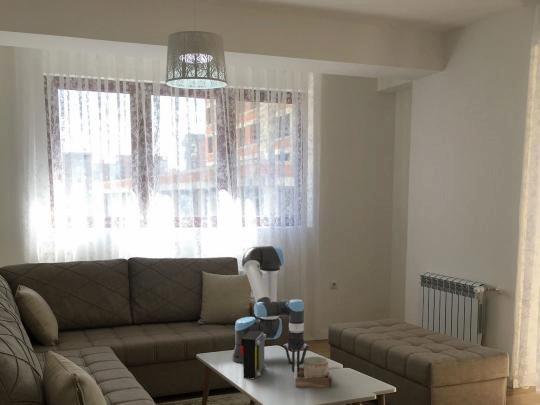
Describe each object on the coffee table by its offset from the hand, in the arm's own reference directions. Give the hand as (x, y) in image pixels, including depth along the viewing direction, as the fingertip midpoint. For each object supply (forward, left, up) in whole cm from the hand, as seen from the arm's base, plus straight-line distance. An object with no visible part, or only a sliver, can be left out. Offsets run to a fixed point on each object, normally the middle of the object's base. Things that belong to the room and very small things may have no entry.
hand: (295, 378), depth 272 cm
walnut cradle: (-1, +8, -2) cm, 8 cm away
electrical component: (-14, -21, -2) cm, 26 cm away
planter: (-1, +10, -2) cm, 10 cm away
